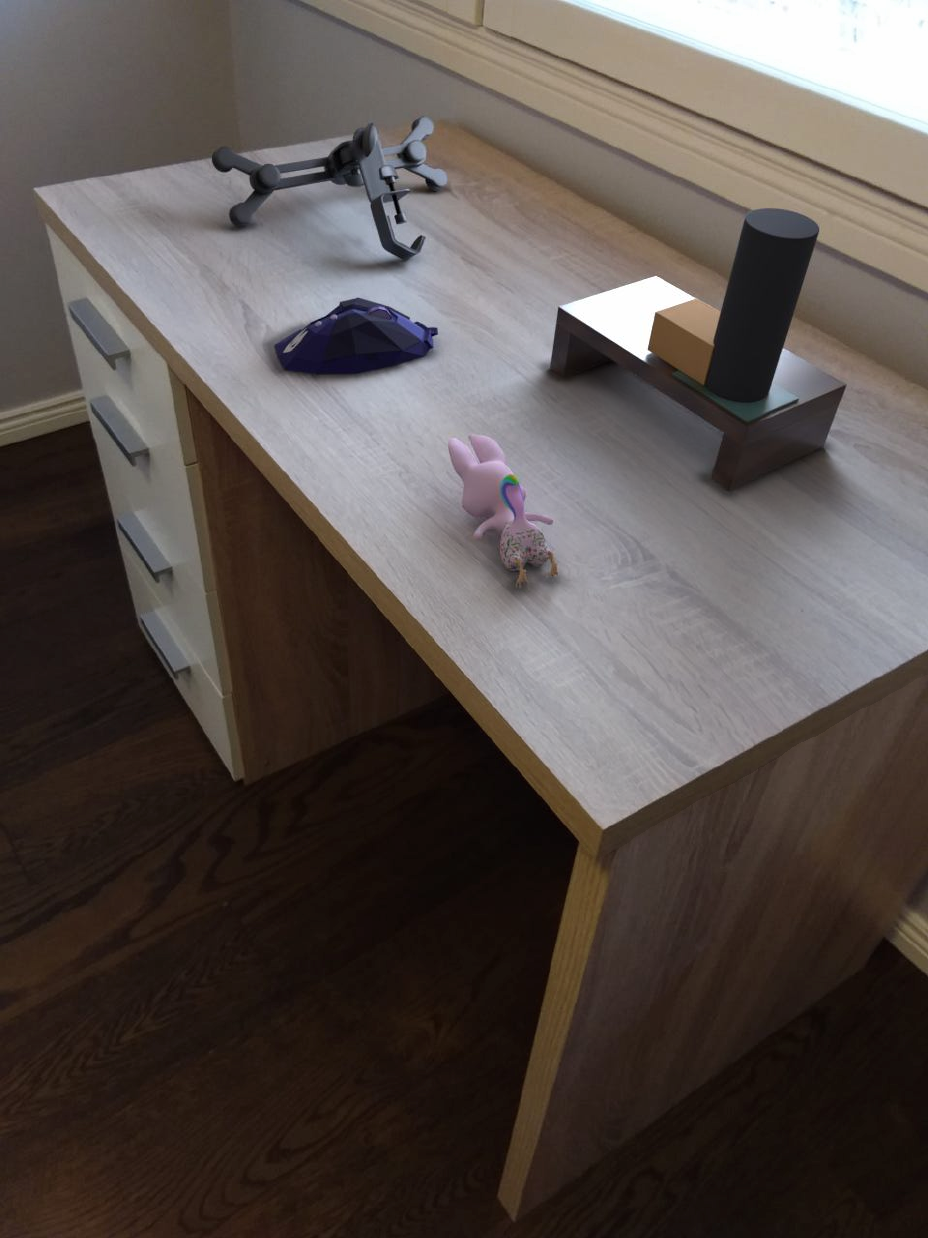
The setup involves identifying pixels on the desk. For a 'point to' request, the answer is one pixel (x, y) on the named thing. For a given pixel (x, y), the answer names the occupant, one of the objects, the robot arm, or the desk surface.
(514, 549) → the rabbit figure
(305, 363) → the computer mouse
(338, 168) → the tablet mount
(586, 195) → the desk surface
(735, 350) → the cylinder with tan block
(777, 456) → the low wooden bench
